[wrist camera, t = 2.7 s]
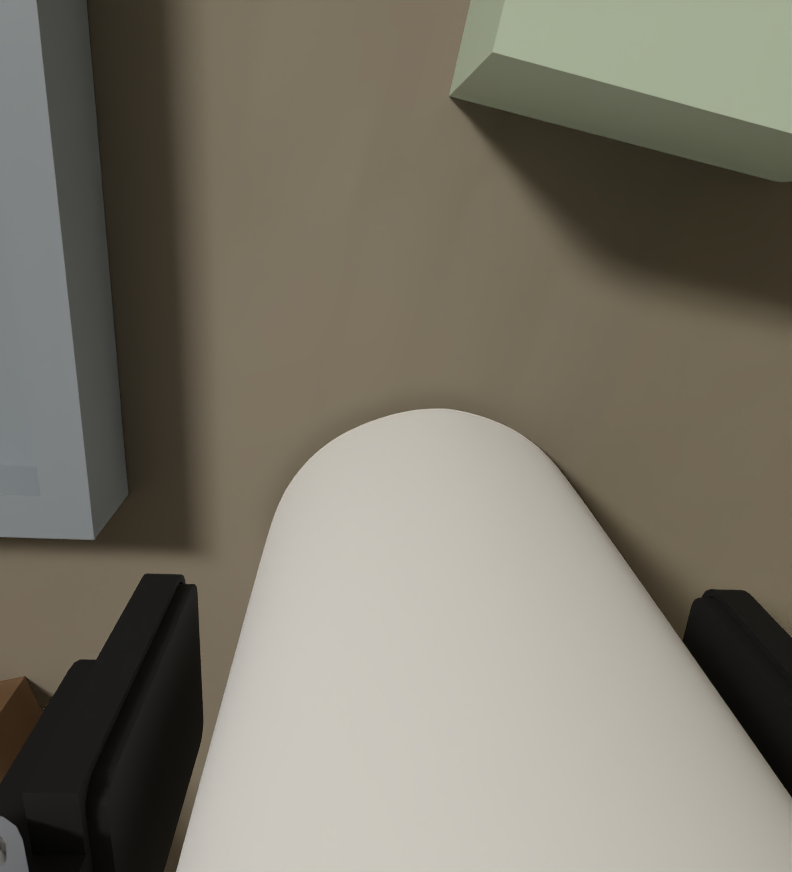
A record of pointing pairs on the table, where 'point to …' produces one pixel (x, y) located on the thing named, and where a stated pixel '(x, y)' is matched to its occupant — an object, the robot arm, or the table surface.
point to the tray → (54, 284)
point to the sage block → (642, 73)
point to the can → (467, 683)
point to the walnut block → (15, 719)
